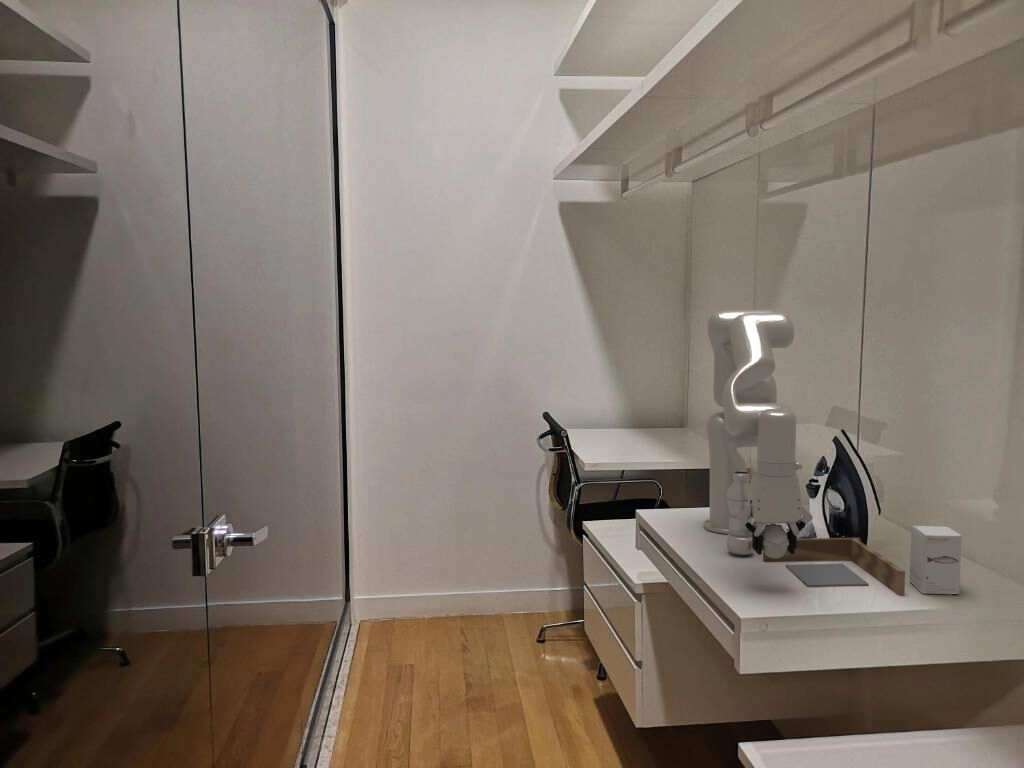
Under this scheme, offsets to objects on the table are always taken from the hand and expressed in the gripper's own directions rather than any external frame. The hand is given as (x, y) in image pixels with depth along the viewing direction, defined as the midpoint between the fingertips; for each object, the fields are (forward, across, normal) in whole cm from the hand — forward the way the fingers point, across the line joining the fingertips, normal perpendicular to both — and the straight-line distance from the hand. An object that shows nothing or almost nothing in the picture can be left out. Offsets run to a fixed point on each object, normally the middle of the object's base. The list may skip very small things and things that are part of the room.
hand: (774, 551), depth 162 cm
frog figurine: (+1, 0, 0) cm, 1 cm away
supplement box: (+8, -33, +2) cm, 34 cm away
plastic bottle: (+9, 0, -23) cm, 25 cm away
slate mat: (+8, -14, -7) cm, 18 cm away
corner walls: (+8, -15, -6) cm, 18 cm away
